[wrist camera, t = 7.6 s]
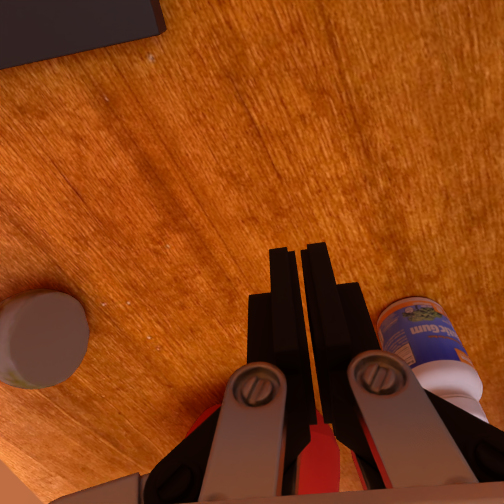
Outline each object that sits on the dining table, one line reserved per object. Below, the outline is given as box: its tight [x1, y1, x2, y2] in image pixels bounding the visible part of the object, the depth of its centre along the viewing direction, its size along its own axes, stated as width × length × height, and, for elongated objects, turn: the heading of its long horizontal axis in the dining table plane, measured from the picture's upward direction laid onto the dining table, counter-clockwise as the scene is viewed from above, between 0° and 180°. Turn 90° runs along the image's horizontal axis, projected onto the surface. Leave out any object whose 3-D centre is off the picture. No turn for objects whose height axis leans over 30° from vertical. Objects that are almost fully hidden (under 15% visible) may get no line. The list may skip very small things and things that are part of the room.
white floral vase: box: [0, 289, 89, 389], centre depth 30 cm, size 8×10×10 cm
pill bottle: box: [377, 297, 489, 424], centre depth 29 cm, size 5×5×10 cm
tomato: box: [185, 404, 340, 495], centre depth 35 cm, size 13×14×12 cm
